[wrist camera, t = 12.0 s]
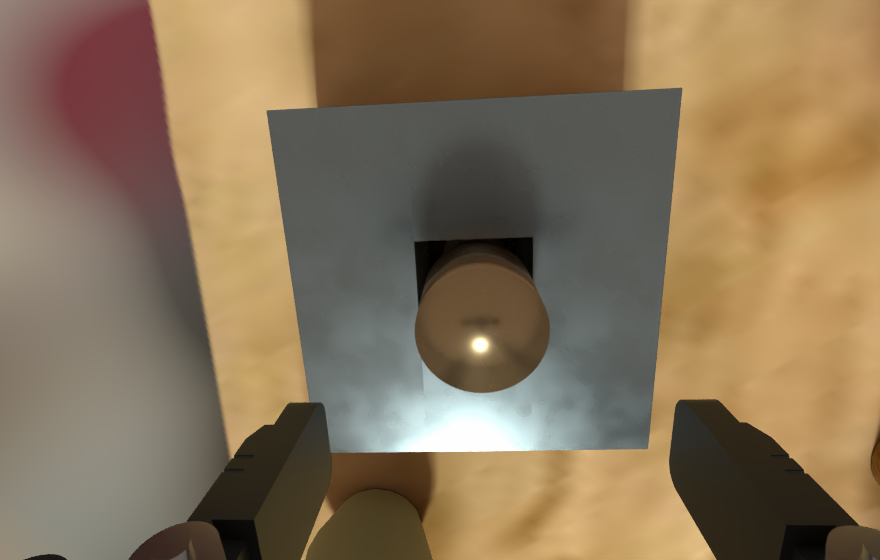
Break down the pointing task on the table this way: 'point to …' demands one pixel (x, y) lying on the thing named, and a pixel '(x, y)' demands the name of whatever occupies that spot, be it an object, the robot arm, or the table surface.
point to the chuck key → (481, 318)
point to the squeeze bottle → (372, 530)
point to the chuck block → (480, 217)
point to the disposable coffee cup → (876, 463)
